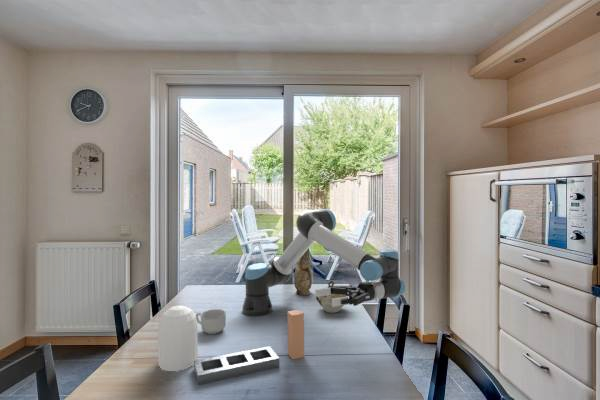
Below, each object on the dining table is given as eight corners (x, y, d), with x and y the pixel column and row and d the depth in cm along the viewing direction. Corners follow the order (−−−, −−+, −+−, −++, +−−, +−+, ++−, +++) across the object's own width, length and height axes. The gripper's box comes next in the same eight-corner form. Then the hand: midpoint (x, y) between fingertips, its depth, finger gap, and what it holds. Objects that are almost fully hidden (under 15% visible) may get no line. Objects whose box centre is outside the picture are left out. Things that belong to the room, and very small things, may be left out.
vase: (292, 295, 203) (292, 244, 202) (296, 290, 214) (295, 241, 213) (310, 295, 201) (310, 244, 201) (312, 290, 212) (312, 241, 211)
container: (156, 358, 126) (155, 304, 126) (193, 350, 133) (192, 298, 132) (161, 375, 114) (160, 315, 114) (202, 365, 121) (201, 308, 120)
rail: (194, 369, 118) (193, 360, 118) (269, 354, 129) (269, 346, 129) (198, 384, 108) (197, 375, 108) (279, 366, 119) (279, 358, 119)
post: (287, 354, 129) (287, 311, 128) (299, 351, 130) (298, 309, 130) (292, 359, 124) (292, 315, 124) (304, 357, 126) (303, 313, 126)
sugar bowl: (325, 318, 165) (325, 287, 165) (307, 309, 177) (307, 280, 177) (356, 310, 176) (356, 280, 176) (337, 302, 188) (337, 275, 188)
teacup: (231, 328, 153) (230, 311, 153) (215, 338, 144) (215, 319, 143) (206, 324, 159) (206, 306, 159) (189, 332, 149) (189, 314, 149)
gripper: (390, 309, 129) (340, 318, 120) (353, 292, 151) (309, 298, 143) (389, 288, 128) (340, 296, 120) (353, 275, 151) (309, 280, 143)
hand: (323, 297), depth 131 cm, fingers open, 13 cm apart
